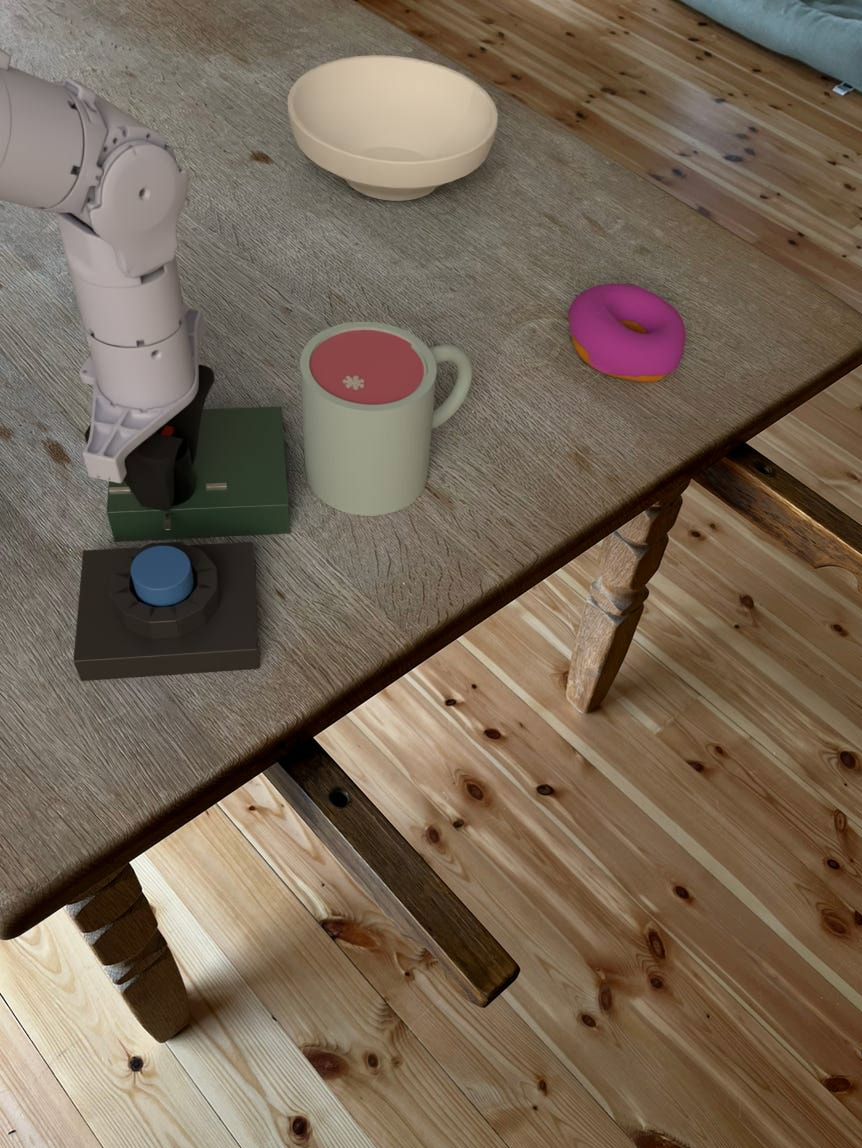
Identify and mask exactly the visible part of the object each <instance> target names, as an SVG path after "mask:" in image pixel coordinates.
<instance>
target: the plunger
mask: <svg viewBox="0 0 862 1148" xmlns="http://www.w3.org/2000/svg"><path fill="white" fill-rule="evenodd" d="M131 576H132V579H133V583H134V587H135V591H136V593H137V595H138V596H139V598H140V599H142V600H143V601H144V602H146V603H148V604H150V605H154V606H170V605H174V604H176V603H179V602H181V601H182V600H184V599H185V598H186V597H187V596H188V595H189V594H190V592H191V591H192V588H193V585H194V579H193V574H192V568H191V563H190V560H189V558H188V556H187V555H186V554H185V553H184V552H183V551H181V550H180V549H178V548H175V547H172V546H165V545H161V546H154V547H151V548H148V549H146V550H144V551H142V552H141V553H140V554H138V555H137V556H136V557H135V559H134V560H133V562H132V565H131Z"/></svg>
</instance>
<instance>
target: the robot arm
mask: <svg viewBox="0 0 862 1148" xmlns="http://www.w3.org/2000/svg"><path fill="white" fill-rule="evenodd" d="M11 62H12V56H11V55H10V54H9V53H8V52H7V51H5V50H4V49H2V48H1V47H0V201H3V202H6V203H11V204H13V205H19V206H22V207H25V208H29V209H34V210H37V211H41V212H46V213H53V214H54V216H55V219H56V223H57V226H58V232H59V235H60V239H61V242H62V243H61V244H62V247H63V250H64V256H65V259H66V262H67V267H68V271H69V275H70V279H71V283H72V286H73V287H72V288H73V291H74V295H75V299H76V302H77V306H78V310H79V311H78V312H79V314H80V318H81V321H82V326H83V330H84V336H85V339H86V341H87V345H88V349H89V353H90V355H89V356H88V357H87V358H86V360H85V361H84V363H83V364H82V365H81V367H80V369H79V371H78V374H79V378H80V381H81V382H82V383H83V384H86V385H90V386H93V390H92V404H91V416H90V424H89V426H88V427H87V429H86V430H85V432H84V440H85V443H86V445H85V447H84V449H83V451H82V452H81V455H82V459H83V461H84V465H85V468H86V472H87V475H88V477H89V478H92V479H97V480H100V481H106V482H108V483H109V482H110V481H111V482H116V483H122V481H123V480H124V481H125V483H126V484H127V485H128V487H129V488H130V490H131V491H132V493H133V494H134V496H135V497H136V499H137V500H138V502H139V503H140V505H141V506H143V507H148V508H152V509H157V510H162V511H169V510H170V508H171V507H172V505H173V501H174V463H175V458H176V454H177V451H178V449H179V447H180V445H181V443H182V441H183V439H181V438H176V437H172V436H167V435H162V434H157V430H158V429H164V428H165V426H171V427H174V431H177V432H179V433H180V434H182V435H183V436H184V437H185V438H186V439H187V441H188V444H189V450H190V456H191V462H192V466H193V464H194V461H195V457H196V452H197V444H198V435H199V427H200V421H201V416H202V411H203V409H205V408H204V407H205V404H206V401H207V399H208V395H209V393H210V390H211V388H212V387H213V385H214V383H215V381H216V379H215V372H214V370H213V369H212V368H211V367H209V366H207V365H204V364H200V363H199V361H200V360H199V358H200V357H199V352H200V351H199V343H200V342H202V341H203V339H204V337H205V335H206V333H207V331H206V325H205V317H204V311H203V309H201V308H196V307H191V306H186V305H184V300H183V293H182V287H181V281H180V274H179V268H178V263H177V256H176V255H177V254H176V251H177V249H178V248H180V245H179V239H178V232H177V231H178V230H177V229H178V227H177V226H178V221H179V217H180V214H181V213H182V211H183V209H184V206H185V203H186V199H187V196H188V191H189V190H188V189H189V170H188V169H186V168H183V167H182V166H181V165H179V164H178V161H177V158H176V155H175V152H174V149H173V147H171V146H169V145H167V144H168V143H169V141H168V140H167V139H166V138H165V137H164V136H163V135H162V134H160V133H159V132H157V131H156V130H155V129H153V128H152V127H150V126H148V125H146V124H145V123H143V122H142V121H140V120H139V119H137V118H135V117H134V116H132V115H131V114H129V113H128V112H126V111H125V110H123V109H121V108H120V107H118V106H117V105H115V104H113V103H112V102H110V101H109V100H107V99H105V98H104V97H102V96H101V95H100V94H97V93H96V92H95V90H93V89H92V88H90V87H89V86H87V85H85V83H82V82H80V81H78V80H76V79H72V78H70V77H65V78H64V79H63V80H57V81H55V82H51V81H49V80H46V79H44V78H42V77H39V76H37V75H34V74H31V73H29V72H26V71H23V70H21V69H18V68H16V67H13V66H11Z"/></svg>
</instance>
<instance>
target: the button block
mask: <svg viewBox="0 0 862 1148" xmlns="http://www.w3.org/2000/svg"><path fill="white" fill-rule="evenodd" d="M161 545H165V546H172V547H175V548H178V549H180V550H181V551H183V552H184V553H185V554H186V555H187V556H188V558H189V560H190V563H191V568H192V574H193V579H194V585H193V588H192V591H191V592H190V594H189V595H188V596H187V597H186V598H185V599H184V600H182V601H181V602H179V603H176V604H174V605H170V606H154V605H150V604H148V603H146V602H144V601H143V600H142V599H140V598H139V596H138V595H137V593H136V591H135V587H134V583H133V579H132V576H131V565H132V562H133V560H134V559H135V557H136V556H137V555H138V554H140V553H141V552H142V551H144V550H146V549H148V548H151V547H154V546H161ZM256 565H257V564H256V554H255V547H254V542H253V541H245V542H226V543H225V542H224V543H223V542H222V543H203V544H201V543H200V544H187V543H184V542H181V541H166V542H164V541H163V542H150V543H148V544H145V545H143V546H141V547H124V548H123V547H122V548H121V547H120V548H101V549H99V548H98V549H83V551H82V559H81V570H80V582H79V592H78V593H79V594H78V605H77V617H76V627H75V639H74V640H75V641H74V650H73V651H74V652H73V663H74V666H75V669H76V671H77V674H78V677H79V679H80V681H81V682H86V681H87V682H88V681H102V680H103V681H104V680H115V679H116V680H117V679H129V678H131V679H132V678H145V677H159V676H174V675H188V674H204V673H219V672H231V671H232V672H233V671H234V672H235V671H245V670H247V671H249V670H259V669H260V644H259V643H260V642H259V620H258V619H259V618H258V595H257V592H258V591H257V589H258V588H257V566H256Z"/></svg>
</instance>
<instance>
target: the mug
mask: <svg viewBox="0 0 862 1148" xmlns="http://www.w3.org/2000/svg"><path fill="white" fill-rule="evenodd" d="M444 362H451V363H453V364H454V365H455V367H456V369H457V370H456V371H457V375H456V379H455V383H454V386H453V388H452V389H451V392H450V393H449V395H448V397H447V398H446V399H445V400H444V402H442V404H441V405H439V406H438V407H437V408H436V409H435V410H434V407H435V406H434V404H435V394H436V383H437V382H436V381H437V365H438V364H440V363H444ZM299 369H300V371H299V372H300V391H301V393H300V394H301V414H302V434H303V450H304V451H303V454H304V473H305V479H306V482H307V484H308V486H309V488H310V489H311V491H312V492H313V494H314V495H315V496H316V497H317V498H318V499H319V500H320V501H322V502H323V503H324V504H326V505H328V506H329V507H330V508H333V509H335V510H337V511H339V512H343V513H346V514H349V515H354V516H360V517H361V516H362V517H377V516H385V515H389V514H393V513H396V512H399V511H401V510H404V509H405V508H407V507H408V506H410V505H411V504H413V503H414V502H415V501H416V500H418V498H419V497H420V496H421V495H422V493H423V492H424V490H425V488H426V486H427V483H428V477H429V466H430V455H431V442H432V431H433V430H434V429H436V428H438V427H440V426H442V425H443V424H445V423H446V422H447V421H448V420H449V419H450V418H452V417H453V416H454V415H455V413H456V412H457V411H458V410H459V409H460V408H461V406H462V405H463V403H464V402H465V400H466V398H467V396H468V393H469V392H470V389H471V385H472V381H473V365H472V362H471V359H470V357H469V355H468V354H467V352H465V350H463V348H461V347H459V346H457V345H454V344H440V345H439V344H438V345H436V346H432V347H430V348H429V347H428V346H427V345H426V343H424V342H423V341H422V340H421V339H420V338H419V337H417V336H416V335H414V334H413V333H411V332H409V331H408V330H405V329H403V328H401V327H397V326H394V325H391V324H387V323H382V322H376V321H351V322H345V323H340V324H337V325H333V326H330V327H327V328H326V329H323V330H322V331H320V332H319V333H317V334H315V335H314V336H313V337H312V338H311V339H310V340H309V341H307V343H306V345H305V346H304V347H303V349H302V351H301V354H300V359H299Z"/></svg>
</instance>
